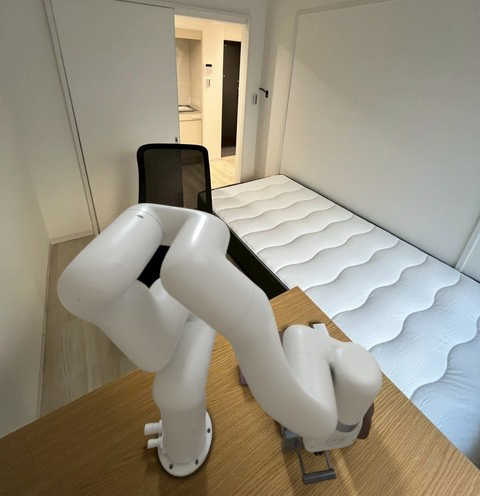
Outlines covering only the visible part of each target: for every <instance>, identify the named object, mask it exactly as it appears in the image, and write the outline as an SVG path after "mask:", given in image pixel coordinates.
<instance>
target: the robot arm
mask: <svg viewBox="0 0 480 496" xmlns="http://www.w3.org/2000/svg"><path fill="white" fill-rule="evenodd" d="M230 239H231V233H230V228H229V227H228V225H227V224H226V222H224V221H223V220H222V219H221V218H219V217H217V216H216V215H214V214H212V213H208V212H206V211H201V210H197V209H193V208H186V207H178V206H171V205H166V204H165V205H164V204H158V203H148V202H147V203H137V204H134V205H131V206H130V207H127V209H125V210H124V211H122V212H121V213H120V214H119V215H118V216H117V217H116V218H115V219H113V221H112V222H111V223H110V224H108V226H106V228H104V229H103V230H102V231H101V232H100V233H99V234H98V235H96V236H95V237H94V238H93V240H91V241H90V242H89V243H88V244H87V245H86V246H85V247H84V248H83V249H82V250H81V251H80V252H79V253H78V254H77V255H76V256H75V257H74V258H73V259H72V261H70V263H69V264H68V265H67V266H66V267H65V269H64V270H63V271H62V273H61V275H60V276H59V278H58V281H57V285H56V294H57V297H58V300H59V302H60V304H61V305H62V306H63V308H65V310H67V311H68V312H69V313H70V314H72V315H73V316H75V317H76V318H78V319H80V320H82V321H85V322H87V323H90V324H92V325H93V326H95V327H97V328H98V329H100V330H101V332H103V333H104V335H106V336H107V338H108V339H109V340H110V341H111V342H112V343H113V344H114V345H115V346H116V347H117V348H118V349H119V350H120V352H122V354H123V355H124V356H125V357H126V358H127V359H128V360H129V361H130V362H131V363H132V364H133V365H134V366H135V367H137V368H138V369H139V370H141V371H143V372H145V373H148V374H149V373H155V375H154V378H153V382H152V386H151V397H152V400H153V402H154V404H155V406H157V408H158V410H159V415H160V416H159V417H160V420H159V422H150V423H149V422H148V423H145V425H144V430H143V436H152V435H154V434H157V438H151V439H148V440H147V449H154V448H157V454H158V458H159V461H160V463H161V465H162V467H163V469H164V470H165V471H166V472H167V473H168V474H170V475H172V476H175V477H179V478H180V477H187V476H189V475H191V474H192V473H194V472H196V470H198V469H199V468H200V467H201V466H202V465H203V463H204V461H205V460H206V459H207V456H208V454H209V451H210V448H211V444H212V439H213V426H212V425H213V424H212V421H211V417H210V414H209V413H208V410H207V389H206V387H207V386H206V385H207V381H208V375H209V371H210V366H211V363H212V356H213V351H214V348H215V343H216V339H217V333H218V334H219V335H220V336H222V337H223V338H224V339H226V340H227V341H228V342H229V344H230V345H231V348H232V350H233V353H234V356H235V359H236V361H237V362H236V363H237V365H238V367H240V369H241V371H242V374H243V376H244V378H245V380H246V382H247V384H246V385H247V386H248V388H249V391H250V392H251V394H252V396H253V397H254V399H255V401H256V403H257V404H258V405H259V407H260V408H261V409H262V410H263V411H264V412H265V413H266V414H267V416H269V417H271V418H272V419H273V420H275V422H277V423H279V425H280V424H282V425H283V426H284V427H286V428H287V429H289V430H290V431H292V432H294V433H296V434H297V437H298V440H303V443H304V446H305V448H304V449H305V450H306V451H307V452H309V453H313V456H314V457H317V456H323V454H324V451H325V450H327V451H330V450H335V449H343V448H346V447H349V446H352V445H353V444H354V442H355V441H356V440H357V439H356V438H357V436H358V434H359V432H360V429H361V426H362V422H363V416H364V415H365V413H366V412H367V410H368V409H369V407H370V406H371V404H372V403H373V402H374V401H375V400H376V398H377V396H378V395H379V394H380V391H381V390H382V387H383V373H382V369H381V367H380V364H379V363H378V361H377V359H376V358H375V356H374V355H373V354H372V353H371V352H370V351H369V350H368V349H367V348H366V347H364V346H363V345H360V344H359V343H356V342H353V341H341V340H339V339H336V338H334V337H332V336H330V335H328V334H326V333H324V332H323V331H319V330H318V329H316V328H313V327H311V326H308V325H304V324H292V325H289V326H288V327H287V328H286V329H285V330H284V331H285V332H284V335H283V348H282V345H281V341H280V337H279V333H278V331H279V329H278V326H277V322H276V318H275V317H276V316H275V314H274V312H273V311H274V310H273V307H272V305H271V303H270V301H269V298H268V296H267V294H266V293H265V292H264V291H263V289H261V288H260V287H259V286H258V285H257V284H256V283H254V282H253V281H252V280H251V279H250V278H249V277H248V276H247V275H245V274H244V273H243V272H242V271H241V270H239V269H238V267H236V266H235V265H234V264H233V263H232V262H231V261H230V260H228V258H227V257H226V255H227V250H228V247H229V243H230ZM160 246H167V247H169V248H168V250H167V252H166V253H165V256H164V259H163V261H162V263H161V267H160V270H159V271H160V272H159V278H158V279H156V280H155V281H154V282H153V283H152V284H151V286H150V287H148V286H147V285H146V284H145V283H143V282H142V281H140V280H139V279H138V278H139V277H140V276H141V274H142V273H143V271H144V270H145V268H146V266H147V265H148V263H150V261H151V259H152V258H153V256H154V255H155V253H156V252H157V250H158V248H159V247H160ZM240 369H239V370H240Z"/></svg>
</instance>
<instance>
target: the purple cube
mask: <svg viewBox="0 0 480 496" xmlns="http://www.w3.org/2000/svg"><path fill="white" fill-rule="evenodd" d="M238 367H239V366H238ZM238 369H239V376H240V384H241V385H248V384H247V382H246V380H245V378H244V376H243V374H242V371H241V369H240V367H239V368H238Z"/></svg>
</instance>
